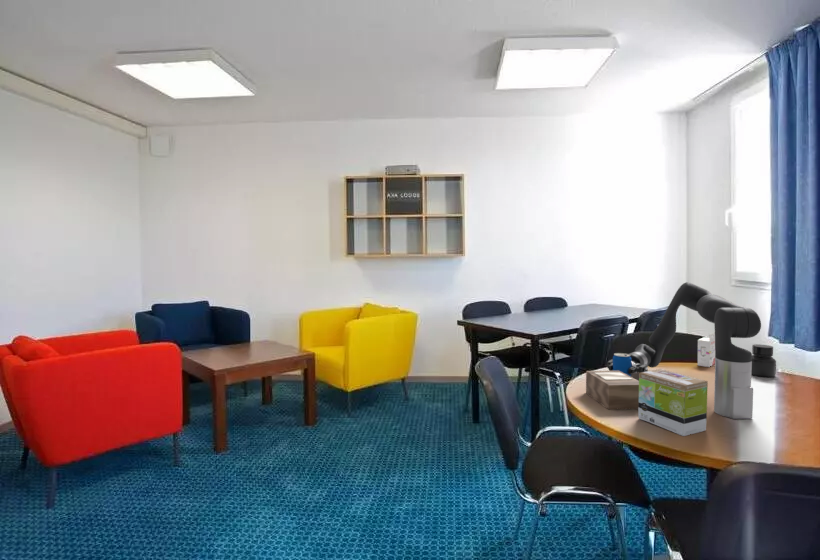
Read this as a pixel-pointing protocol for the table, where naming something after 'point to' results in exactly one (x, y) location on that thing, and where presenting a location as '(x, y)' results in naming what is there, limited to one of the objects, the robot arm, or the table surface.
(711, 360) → the ink cartridge box
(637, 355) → the robot arm
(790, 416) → the table surface
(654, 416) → the tea box
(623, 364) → the beverage can
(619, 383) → the walnut box
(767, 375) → the ink bottle
